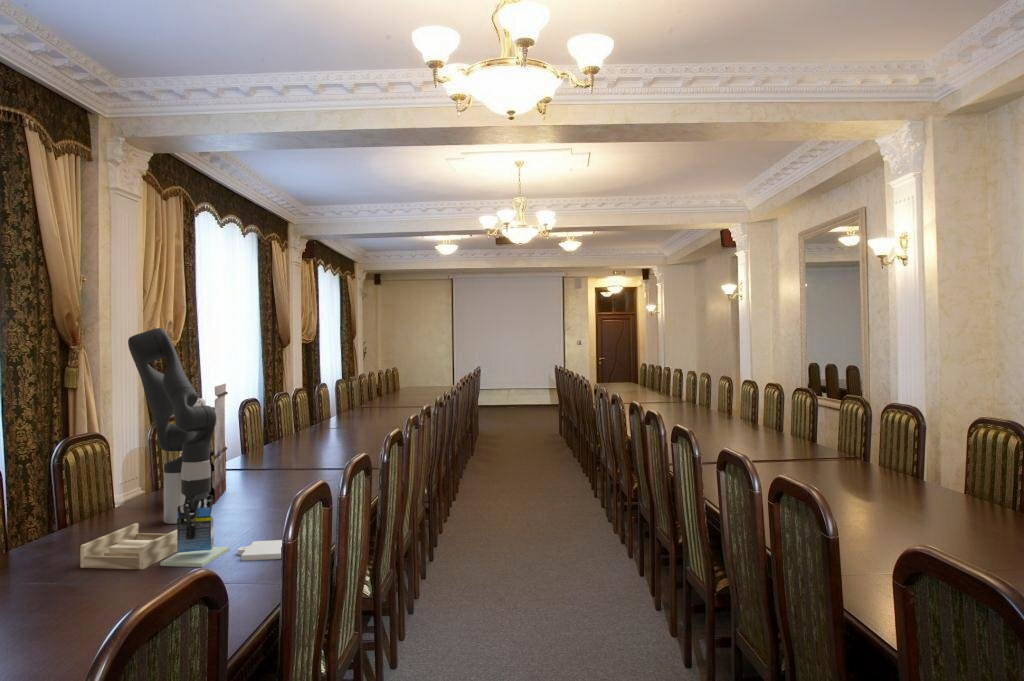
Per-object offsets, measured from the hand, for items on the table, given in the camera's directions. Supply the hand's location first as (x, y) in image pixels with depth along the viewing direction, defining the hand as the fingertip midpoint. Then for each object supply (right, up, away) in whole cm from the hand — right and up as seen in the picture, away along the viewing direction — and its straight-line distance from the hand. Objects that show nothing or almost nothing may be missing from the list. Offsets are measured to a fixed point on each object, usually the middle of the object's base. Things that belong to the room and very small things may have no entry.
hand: (196, 536), depth 181 cm
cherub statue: (-35, -7, +71) cm, 80 cm away
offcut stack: (-18, -7, 0) cm, 19 cm away
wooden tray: (-18, -6, +2) cm, 19 cm away
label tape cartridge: (0, -4, 0) cm, 4 cm away
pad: (0, -6, 0) cm, 6 cm away
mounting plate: (+19, -7, +5) cm, 21 cm away
